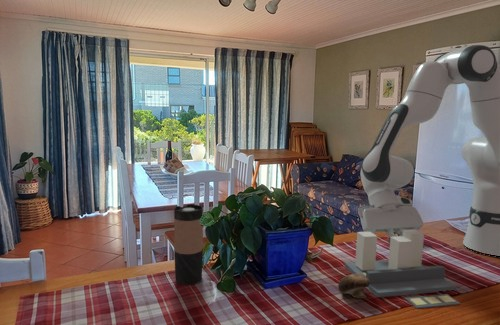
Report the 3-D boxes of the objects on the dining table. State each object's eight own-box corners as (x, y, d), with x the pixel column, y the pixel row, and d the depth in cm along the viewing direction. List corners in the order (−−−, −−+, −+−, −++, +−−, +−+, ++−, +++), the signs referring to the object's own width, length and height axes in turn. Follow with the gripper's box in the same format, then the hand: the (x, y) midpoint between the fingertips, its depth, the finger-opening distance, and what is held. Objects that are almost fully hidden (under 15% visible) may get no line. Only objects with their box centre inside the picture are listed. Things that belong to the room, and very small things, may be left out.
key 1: (367, 263, 102) (369, 231, 101) (374, 269, 99) (377, 236, 97) (355, 264, 102) (357, 232, 100) (362, 270, 98) (364, 236, 96)
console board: (412, 261, 108) (413, 249, 108) (456, 290, 91) (458, 275, 90) (344, 266, 104) (345, 253, 103) (377, 297, 86) (378, 281, 86)
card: (446, 295, 88) (447, 293, 88) (460, 304, 84) (460, 302, 84) (405, 298, 86) (405, 297, 86) (416, 308, 82) (417, 307, 82)
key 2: (412, 260, 105) (415, 229, 104) (421, 266, 101) (424, 233, 100) (400, 261, 105) (403, 229, 103) (409, 267, 101) (411, 234, 99)
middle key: (400, 269, 99) (403, 236, 98) (409, 275, 95) (412, 241, 94) (387, 270, 98) (390, 236, 97) (396, 276, 94) (399, 241, 93)
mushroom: (378, 294, 82) (366, 268, 84) (346, 305, 82) (335, 279, 85) (373, 294, 89) (363, 270, 91) (344, 304, 89) (334, 280, 92)
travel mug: (197, 287, 90) (197, 212, 87) (169, 283, 91) (168, 210, 88) (206, 274, 97) (206, 205, 94) (181, 271, 98) (180, 203, 96)
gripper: (360, 201, 112) (374, 240, 104) (416, 199, 116) (433, 237, 107) (352, 210, 117) (365, 249, 108) (406, 208, 121) (423, 245, 112)
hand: (400, 243), depth 108 cm, fingers closed
